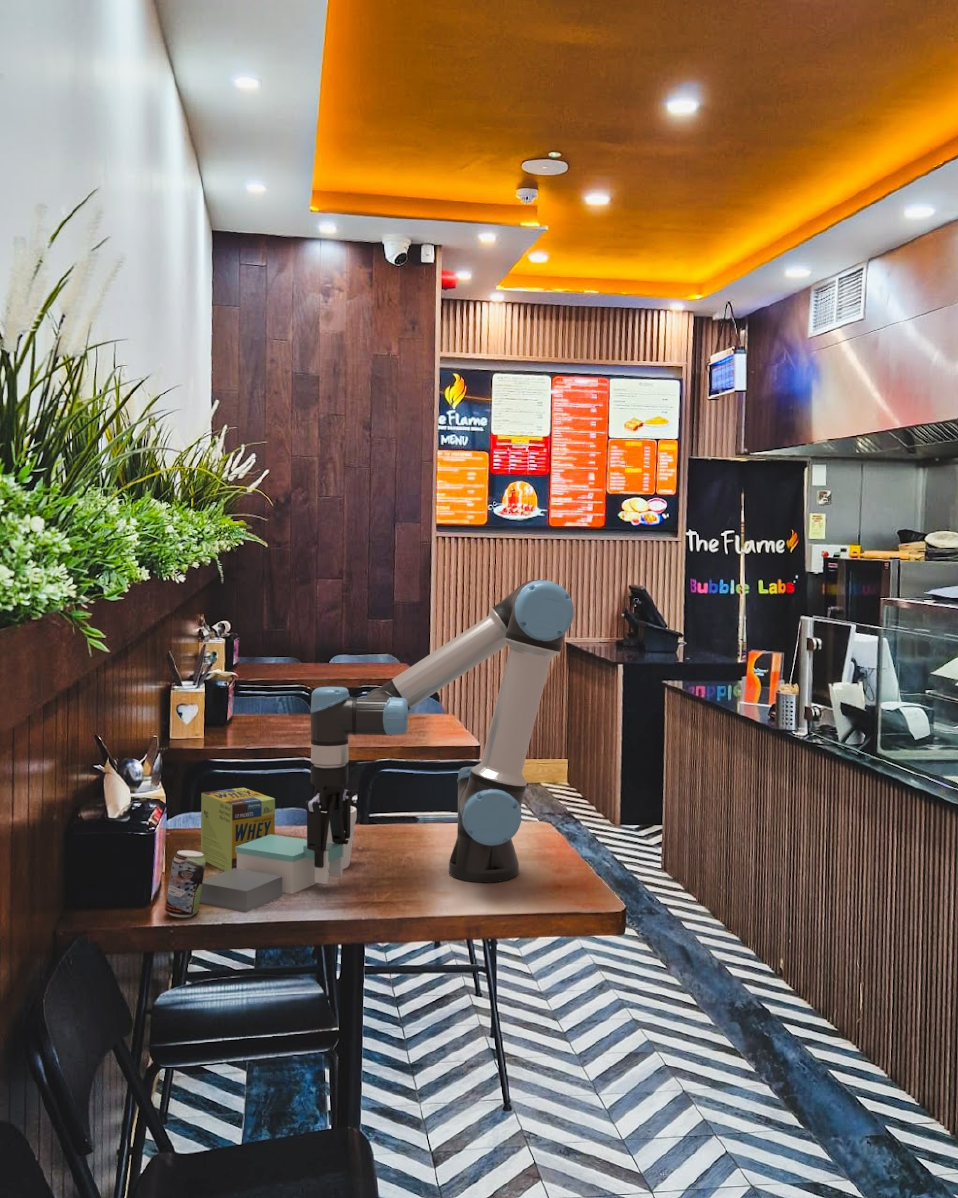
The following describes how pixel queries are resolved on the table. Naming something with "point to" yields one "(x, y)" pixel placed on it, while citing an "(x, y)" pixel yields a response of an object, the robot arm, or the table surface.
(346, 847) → the foam cup
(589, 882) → the table surface
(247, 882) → the block
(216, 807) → the protein box
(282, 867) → the tub
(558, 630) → the robot arm
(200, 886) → the beverage can
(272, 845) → the lid
